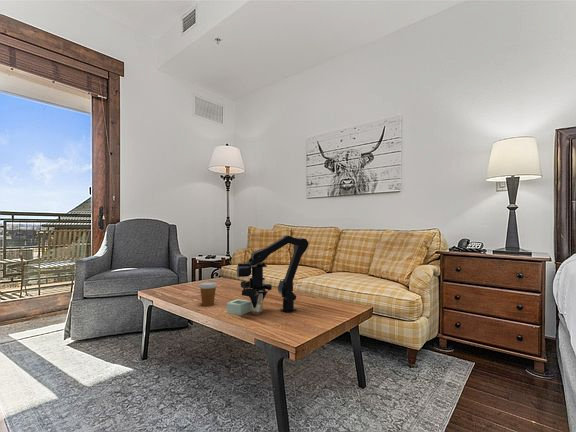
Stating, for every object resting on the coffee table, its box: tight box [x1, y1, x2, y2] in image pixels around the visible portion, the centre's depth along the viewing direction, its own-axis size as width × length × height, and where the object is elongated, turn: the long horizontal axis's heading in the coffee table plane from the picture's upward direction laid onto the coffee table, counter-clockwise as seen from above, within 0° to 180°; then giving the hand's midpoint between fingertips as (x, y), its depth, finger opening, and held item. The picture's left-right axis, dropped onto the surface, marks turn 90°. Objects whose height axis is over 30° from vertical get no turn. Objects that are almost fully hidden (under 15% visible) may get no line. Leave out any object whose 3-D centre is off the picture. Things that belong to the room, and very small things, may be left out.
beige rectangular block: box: [251, 293, 264, 316], centre depth 156 cm, size 4×4×10 cm
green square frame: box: [226, 298, 253, 316], centre depth 159 cm, size 9×9×5 cm
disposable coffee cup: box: [199, 281, 218, 307], centre depth 173 cm, size 10×10×12 cm
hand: (257, 306), depth 156 cm, fingers open, 4 cm apart
